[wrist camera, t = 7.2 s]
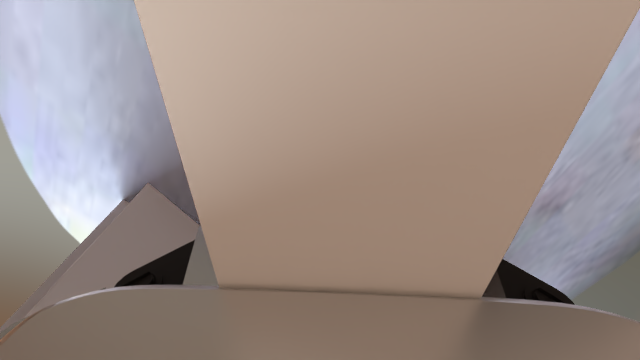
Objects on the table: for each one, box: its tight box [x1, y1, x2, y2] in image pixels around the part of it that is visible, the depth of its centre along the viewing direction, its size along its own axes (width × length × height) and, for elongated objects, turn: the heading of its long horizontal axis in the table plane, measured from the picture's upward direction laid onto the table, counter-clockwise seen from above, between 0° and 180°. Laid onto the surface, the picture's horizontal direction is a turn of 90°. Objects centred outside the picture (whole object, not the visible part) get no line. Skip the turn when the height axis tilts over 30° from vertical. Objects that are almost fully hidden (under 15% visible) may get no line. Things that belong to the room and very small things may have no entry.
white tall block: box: [0, 183, 200, 333], centre depth 28 cm, size 14×6×30 cm, turn 34°
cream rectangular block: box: [134, 0, 640, 298], centre depth 10 cm, size 14×4×10 cm, turn 179°
